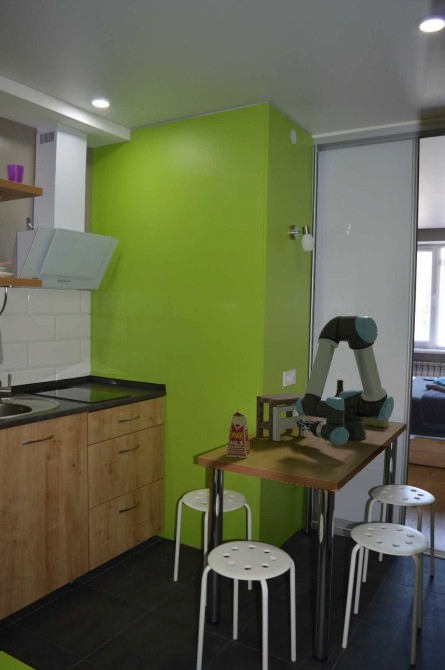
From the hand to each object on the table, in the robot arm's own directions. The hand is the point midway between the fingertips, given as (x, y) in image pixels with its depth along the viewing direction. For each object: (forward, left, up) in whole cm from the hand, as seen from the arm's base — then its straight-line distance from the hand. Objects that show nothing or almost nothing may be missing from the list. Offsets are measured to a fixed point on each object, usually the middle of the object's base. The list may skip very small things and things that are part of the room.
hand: (296, 420), depth 256 cm
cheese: (+6, -59, -9) cm, 60 cm away
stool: (+8, +2, -9) cm, 12 cm away
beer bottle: (+19, -51, -9) cm, 56 cm away
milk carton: (-9, +42, -9) cm, 44 cm away
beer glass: (+34, -31, -9) cm, 47 cm away
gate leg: (+2, +2, -8) cm, 9 cm away
